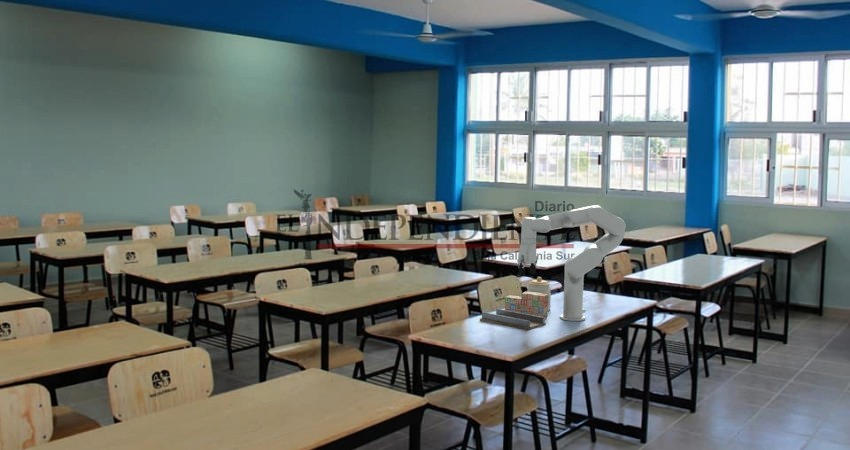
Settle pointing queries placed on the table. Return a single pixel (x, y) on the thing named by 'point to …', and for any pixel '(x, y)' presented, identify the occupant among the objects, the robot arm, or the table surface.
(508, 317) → the track
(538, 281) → the jar
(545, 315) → the stack of blocks
